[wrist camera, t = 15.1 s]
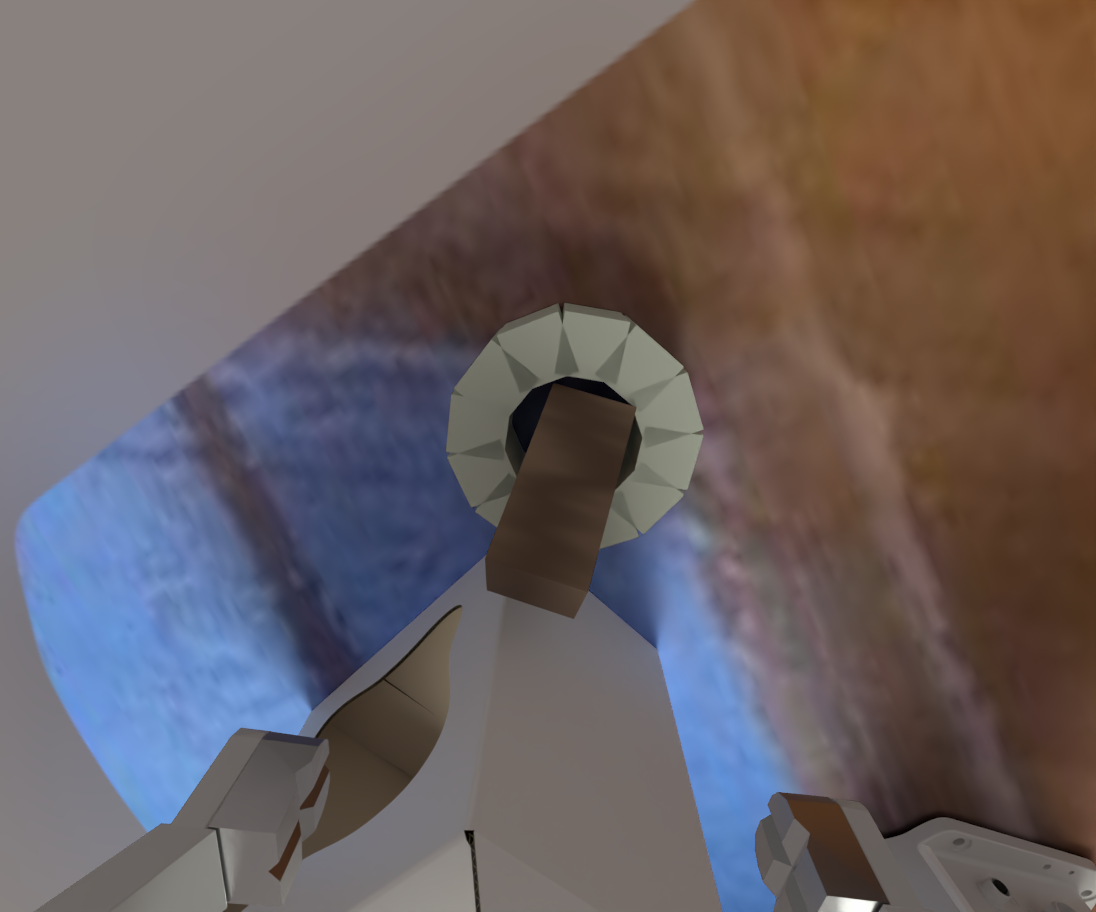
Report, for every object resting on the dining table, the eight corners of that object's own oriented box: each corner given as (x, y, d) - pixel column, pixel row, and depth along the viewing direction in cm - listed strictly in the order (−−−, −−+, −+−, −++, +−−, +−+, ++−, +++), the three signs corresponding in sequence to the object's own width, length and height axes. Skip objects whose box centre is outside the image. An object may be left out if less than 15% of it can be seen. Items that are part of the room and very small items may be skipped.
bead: (707, 327, 26) (731, 339, 22) (651, 528, 30) (664, 566, 27) (475, 287, 25) (460, 293, 22) (453, 497, 30) (438, 532, 26)
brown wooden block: (636, 407, 23) (588, 592, 18) (618, 453, 27) (573, 619, 22) (553, 382, 24) (484, 558, 19) (546, 431, 27) (486, 589, 22)
